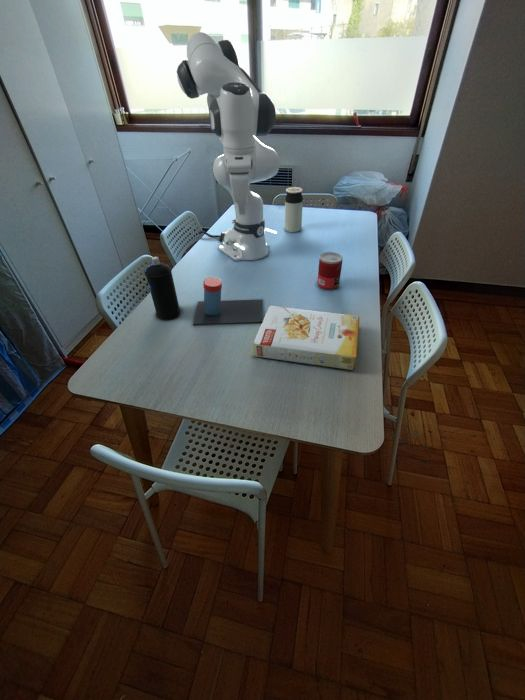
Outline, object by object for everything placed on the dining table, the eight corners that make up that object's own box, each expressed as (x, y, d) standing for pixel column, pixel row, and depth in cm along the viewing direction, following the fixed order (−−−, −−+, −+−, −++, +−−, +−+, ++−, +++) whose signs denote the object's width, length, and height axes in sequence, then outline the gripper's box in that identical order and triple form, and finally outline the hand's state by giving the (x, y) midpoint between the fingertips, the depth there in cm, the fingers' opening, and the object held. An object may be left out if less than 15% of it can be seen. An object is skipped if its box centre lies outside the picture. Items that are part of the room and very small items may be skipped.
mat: (193, 325, 112) (193, 324, 111) (198, 302, 121) (198, 301, 121) (262, 323, 111) (262, 321, 111) (261, 300, 121) (261, 299, 121)
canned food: (338, 291, 124) (342, 262, 117) (316, 289, 126) (318, 261, 119) (339, 280, 130) (343, 252, 123) (317, 278, 131) (320, 251, 124)
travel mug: (301, 232, 164) (303, 192, 152) (285, 232, 165) (285, 192, 153) (300, 225, 170) (302, 186, 158) (284, 226, 171) (285, 187, 159)
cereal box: (357, 356, 90) (252, 342, 95) (354, 372, 93) (252, 357, 99) (360, 313, 105) (268, 303, 110) (357, 328, 108) (268, 317, 114)
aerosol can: (185, 308, 119) (174, 253, 106) (173, 322, 113) (159, 266, 100) (164, 304, 121) (150, 250, 108) (151, 317, 115) (135, 262, 102)
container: (202, 315, 113) (202, 285, 106) (204, 305, 118) (204, 276, 111) (220, 316, 114) (221, 287, 107) (221, 306, 118) (222, 277, 111)
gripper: (230, 148, 104) (233, 196, 113) (226, 168, 89) (230, 221, 98) (251, 147, 104) (253, 195, 113) (251, 167, 89) (253, 221, 98)
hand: (242, 208), depth 106 cm, fingers open, 8 cm apart
